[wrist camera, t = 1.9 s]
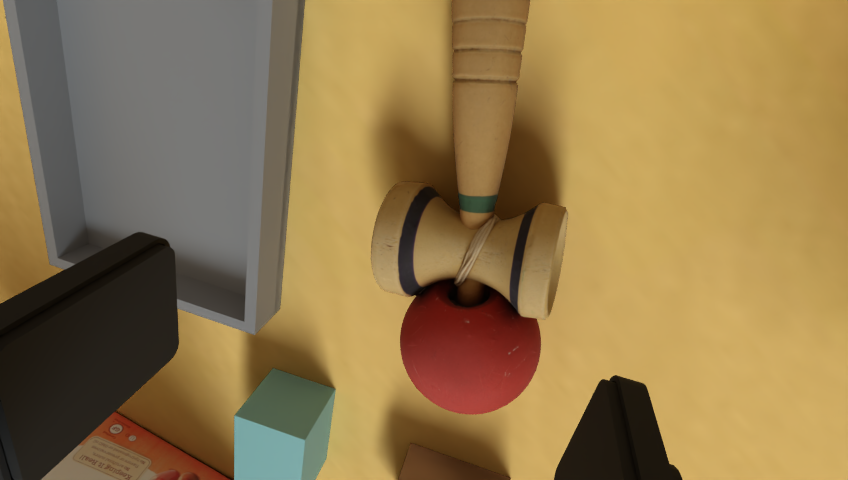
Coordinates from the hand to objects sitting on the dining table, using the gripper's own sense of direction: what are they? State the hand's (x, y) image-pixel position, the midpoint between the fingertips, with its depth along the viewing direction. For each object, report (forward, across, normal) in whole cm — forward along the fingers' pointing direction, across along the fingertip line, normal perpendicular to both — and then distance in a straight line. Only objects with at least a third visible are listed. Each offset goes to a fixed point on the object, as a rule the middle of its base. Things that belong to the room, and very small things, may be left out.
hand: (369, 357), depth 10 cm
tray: (+13, +14, -2) cm, 19 cm away
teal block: (+12, +6, +17) cm, 22 cm away
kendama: (+12, -1, 0) cm, 13 cm away
